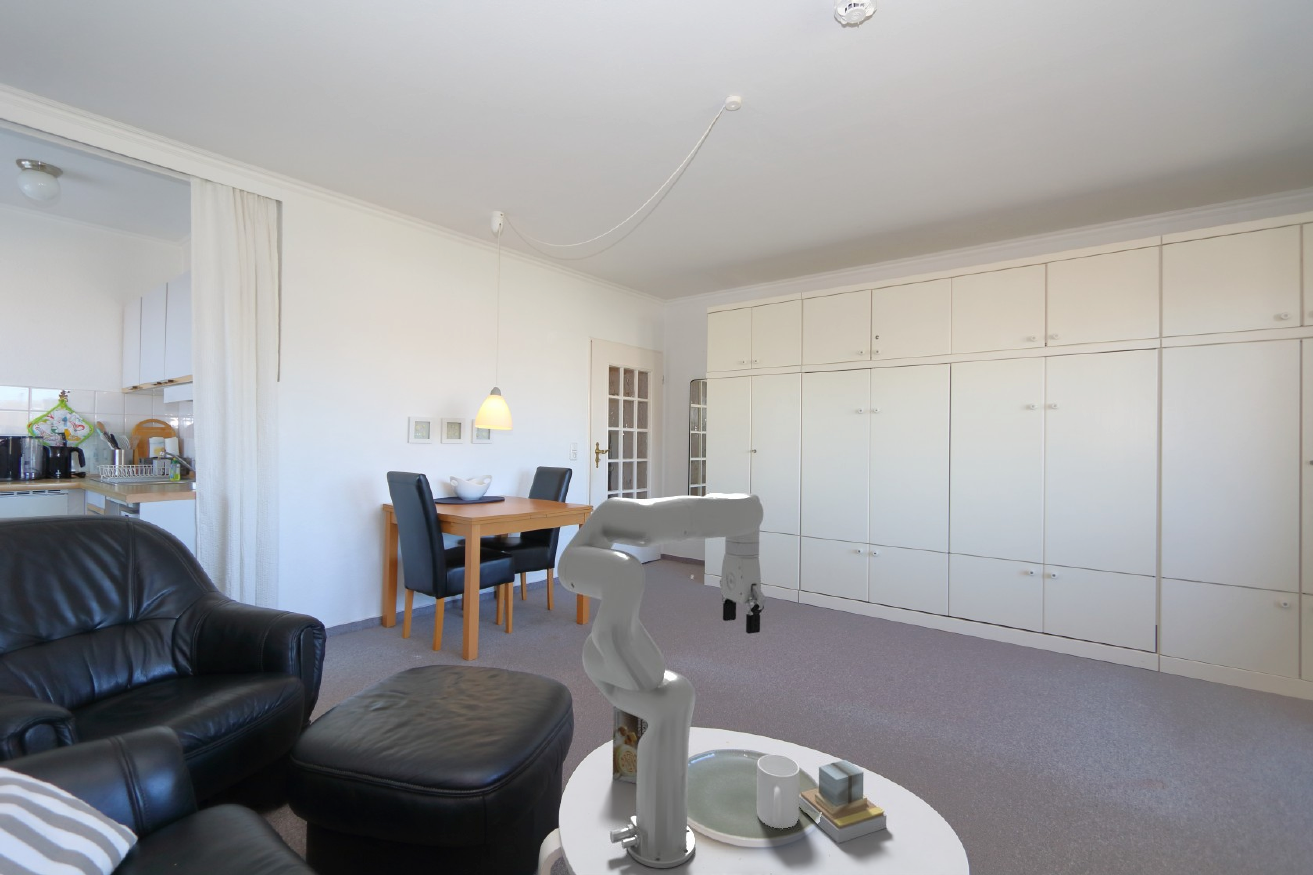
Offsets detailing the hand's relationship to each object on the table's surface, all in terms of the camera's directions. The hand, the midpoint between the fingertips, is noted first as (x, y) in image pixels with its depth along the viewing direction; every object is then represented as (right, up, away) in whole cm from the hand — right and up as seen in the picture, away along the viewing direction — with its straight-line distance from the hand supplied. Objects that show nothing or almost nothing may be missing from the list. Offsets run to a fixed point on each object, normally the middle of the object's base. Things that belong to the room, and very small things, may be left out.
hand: (740, 626), depth 127 cm
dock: (+18, -34, -12) cm, 41 cm away
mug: (+5, -34, -14) cm, 38 cm away
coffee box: (-24, -34, +1) cm, 41 cm away
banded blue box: (+18, -31, -12) cm, 38 cm away
